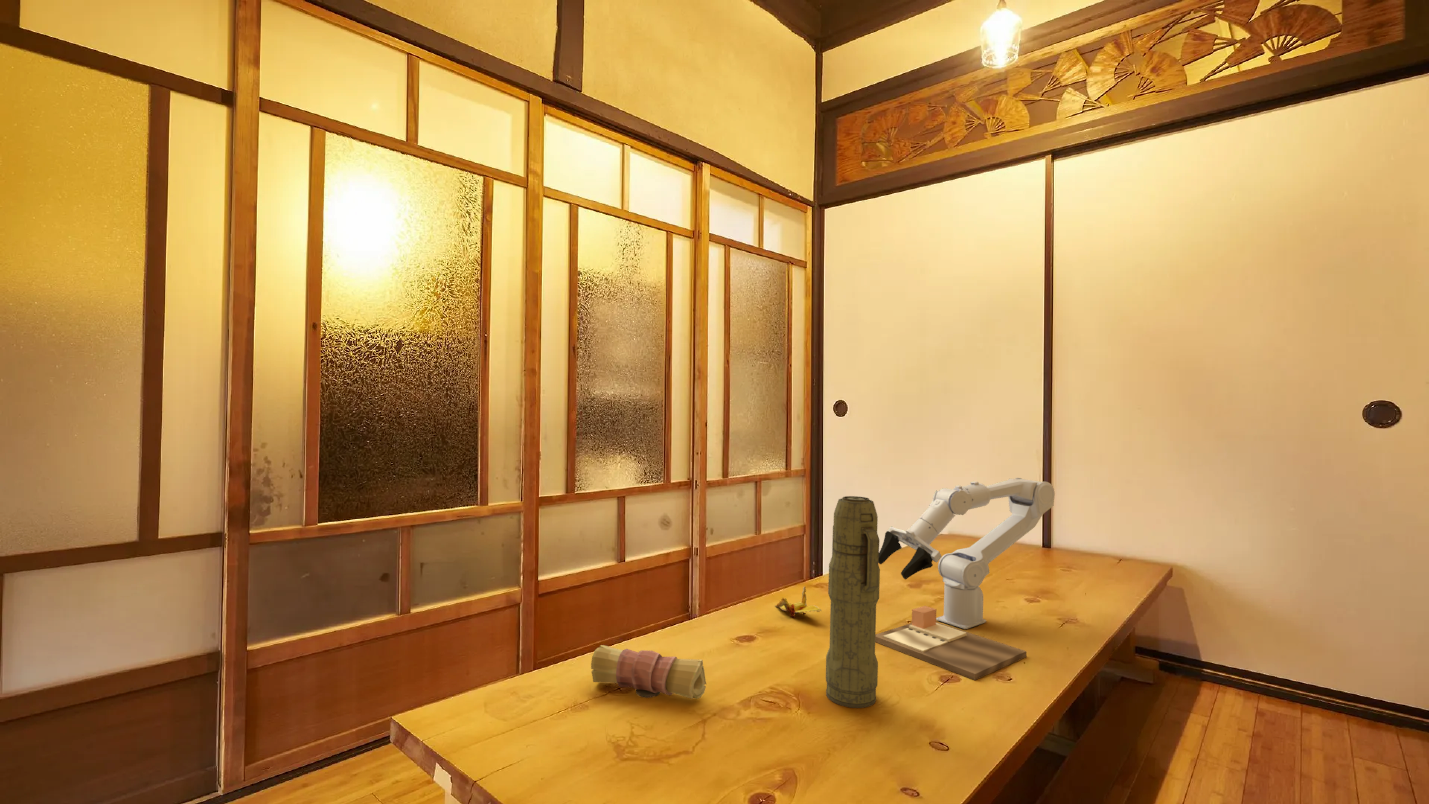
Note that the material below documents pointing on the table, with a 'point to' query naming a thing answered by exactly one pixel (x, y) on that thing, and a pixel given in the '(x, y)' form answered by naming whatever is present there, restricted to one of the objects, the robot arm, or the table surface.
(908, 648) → the board
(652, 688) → the scroll
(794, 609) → the origami crane
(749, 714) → the table surface
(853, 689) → the thermos
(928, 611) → the stub
